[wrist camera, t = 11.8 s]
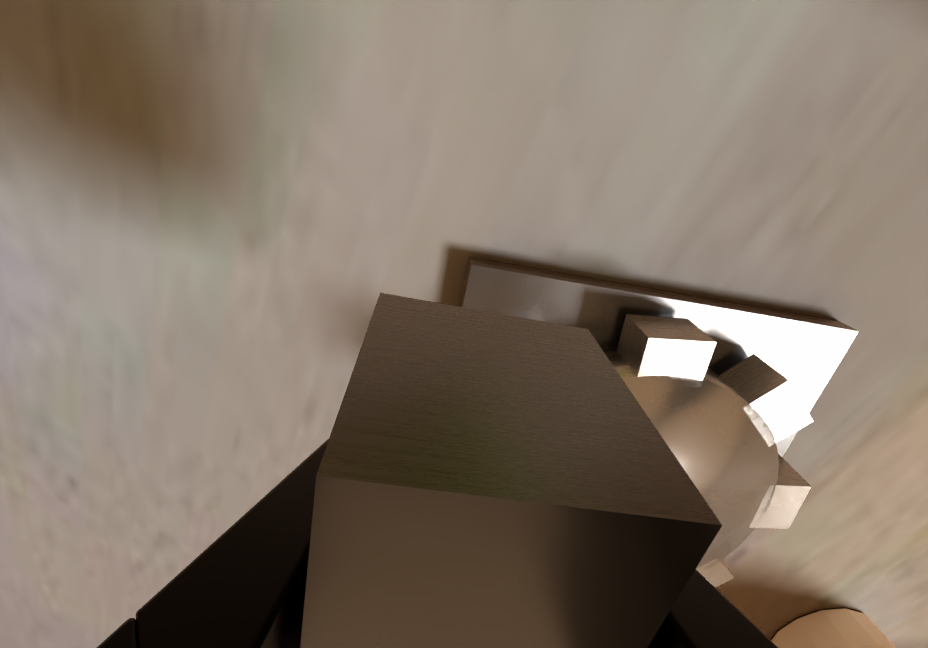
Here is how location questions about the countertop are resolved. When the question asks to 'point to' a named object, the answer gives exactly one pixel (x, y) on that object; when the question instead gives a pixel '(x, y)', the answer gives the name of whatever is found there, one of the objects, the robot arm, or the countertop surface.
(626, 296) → the base plate
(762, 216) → the countertop surface
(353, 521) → the taupe rectangular block
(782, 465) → the grey cog wheel
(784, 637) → the white cup
